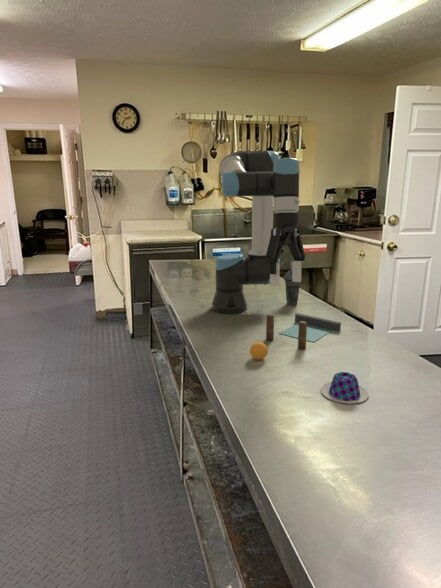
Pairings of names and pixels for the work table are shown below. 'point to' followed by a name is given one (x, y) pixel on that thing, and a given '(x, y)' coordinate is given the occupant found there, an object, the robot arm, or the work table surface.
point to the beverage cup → (291, 289)
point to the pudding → (344, 388)
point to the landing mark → (312, 332)
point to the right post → (302, 335)
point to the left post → (270, 327)
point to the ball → (258, 350)
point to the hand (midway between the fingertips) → (286, 283)
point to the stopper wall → (318, 322)
